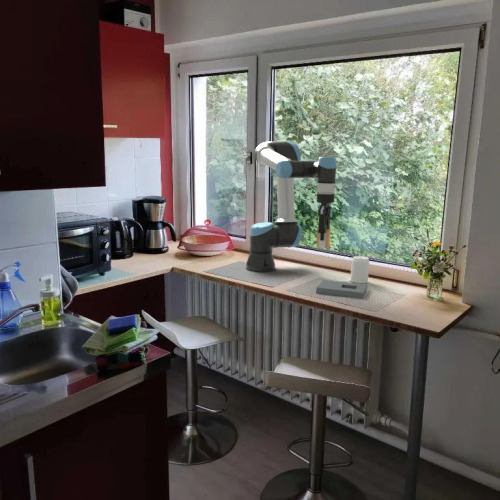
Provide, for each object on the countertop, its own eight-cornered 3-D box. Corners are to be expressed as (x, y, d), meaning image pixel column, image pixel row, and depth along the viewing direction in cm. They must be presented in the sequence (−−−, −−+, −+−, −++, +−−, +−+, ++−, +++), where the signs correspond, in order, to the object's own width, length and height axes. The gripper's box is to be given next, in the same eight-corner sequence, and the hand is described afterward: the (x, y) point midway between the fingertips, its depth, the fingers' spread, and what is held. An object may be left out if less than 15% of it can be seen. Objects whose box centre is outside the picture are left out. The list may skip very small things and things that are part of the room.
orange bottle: (316, 247, 218) (317, 224, 216) (318, 246, 221) (319, 223, 220) (327, 248, 216) (328, 225, 214) (329, 247, 220) (330, 224, 218)
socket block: (316, 292, 217) (316, 287, 217) (322, 284, 230) (322, 279, 229) (362, 298, 211) (363, 292, 210) (366, 289, 224) (367, 284, 223)
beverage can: (355, 284, 231) (356, 259, 229) (347, 280, 239) (348, 255, 237) (370, 284, 234) (372, 259, 231) (362, 279, 241) (364, 255, 239)
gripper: (330, 194, 205) (327, 250, 210) (338, 192, 221) (335, 244, 225) (312, 194, 208) (310, 249, 212) (321, 191, 223) (319, 243, 228)
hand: (323, 246), depth 219 cm, fingers closed on orange bottle, 4 cm apart
